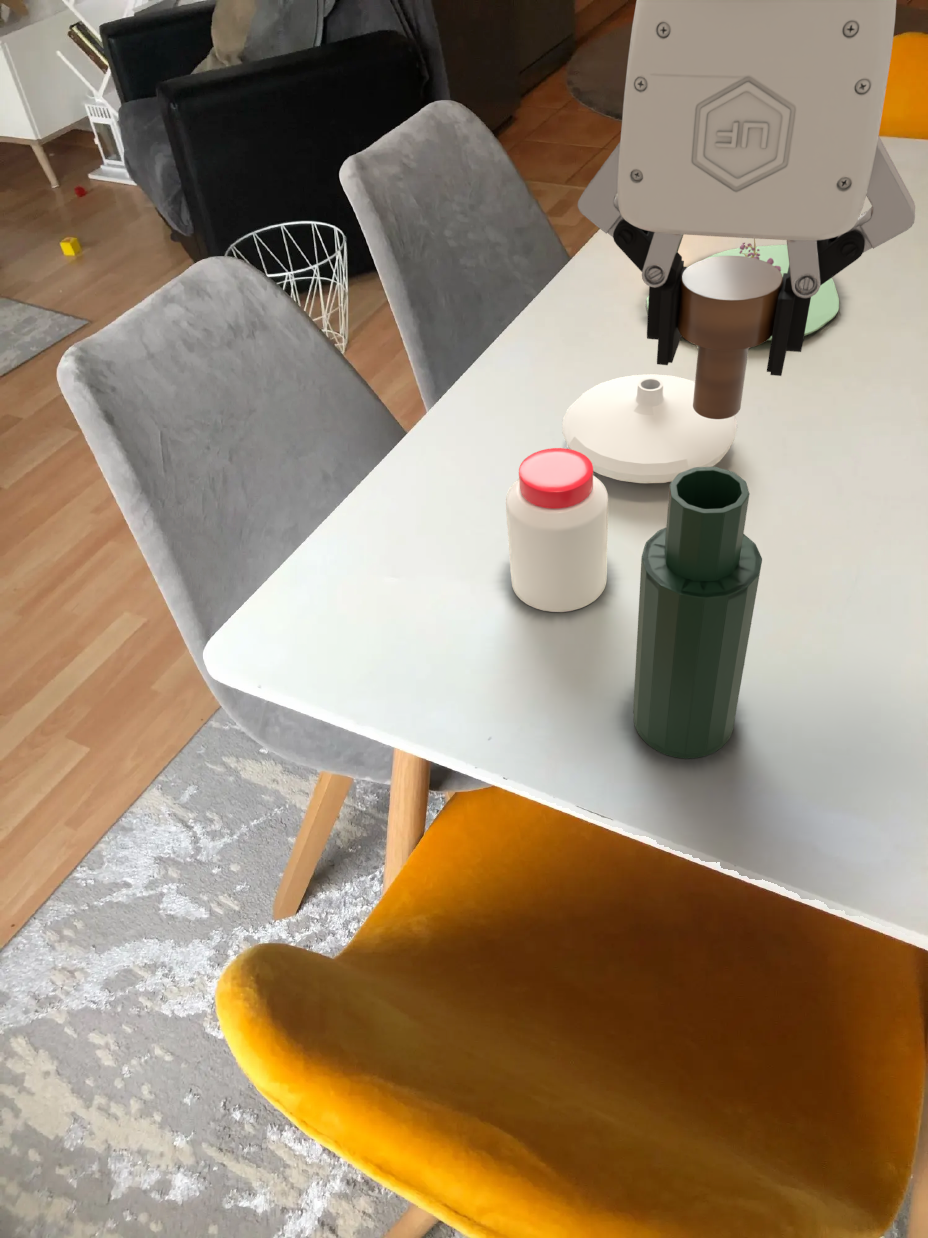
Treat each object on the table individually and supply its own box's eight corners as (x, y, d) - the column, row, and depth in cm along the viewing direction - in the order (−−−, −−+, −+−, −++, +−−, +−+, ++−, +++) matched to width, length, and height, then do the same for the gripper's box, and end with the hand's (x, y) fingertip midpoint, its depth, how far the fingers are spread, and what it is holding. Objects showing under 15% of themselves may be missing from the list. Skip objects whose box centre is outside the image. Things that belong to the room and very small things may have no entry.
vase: (705, 519, 82) (712, 450, 77) (535, 481, 88) (532, 415, 83) (753, 421, 91) (763, 354, 86) (598, 392, 97) (598, 328, 92)
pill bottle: (577, 625, 74) (576, 513, 67) (493, 592, 78) (483, 482, 70) (623, 566, 79) (627, 455, 71) (542, 537, 82) (537, 429, 74)
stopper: (781, 413, 49) (804, 281, 44) (706, 442, 47) (721, 310, 42) (725, 374, 52) (740, 246, 47) (653, 400, 50) (661, 272, 46)
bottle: (754, 733, 65) (800, 500, 51) (671, 774, 64) (695, 544, 50) (694, 669, 70) (721, 439, 56) (614, 706, 68) (622, 478, 54)
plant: (674, 242, 120) (679, 167, 114) (848, 253, 114) (863, 174, 108) (629, 341, 104) (632, 261, 98) (829, 360, 98) (846, 275, 92)
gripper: (520, -68, 35) (536, 379, 47) (1044, -86, 30) (904, 416, 43) (572, -108, 39) (574, 307, 52) (1028, -129, 35) (907, 333, 47)
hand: (722, 352), depth 47 cm, fingers closed on stopper, 4 cm apart
